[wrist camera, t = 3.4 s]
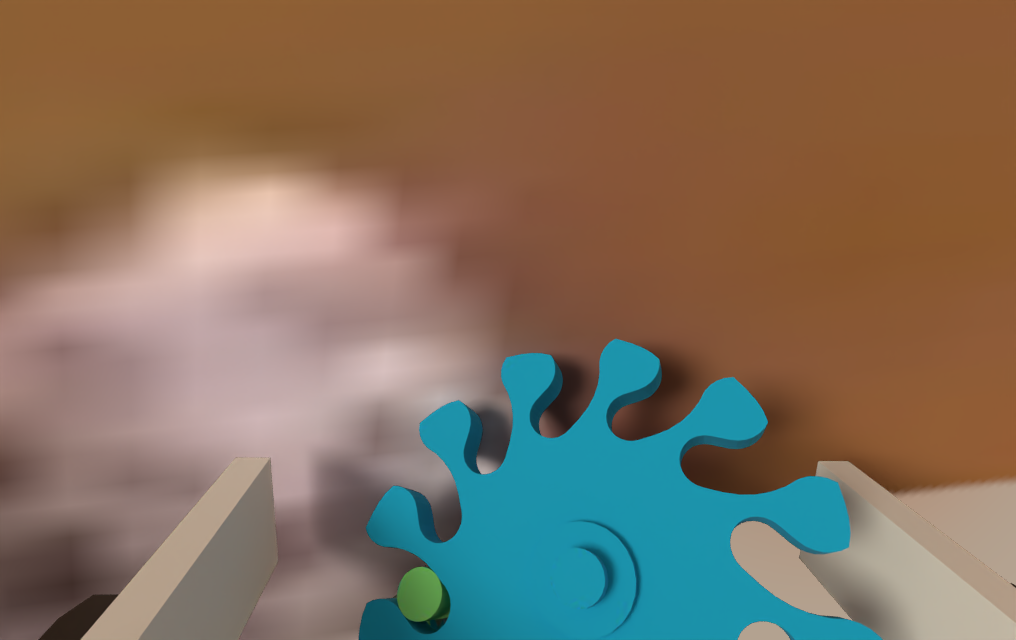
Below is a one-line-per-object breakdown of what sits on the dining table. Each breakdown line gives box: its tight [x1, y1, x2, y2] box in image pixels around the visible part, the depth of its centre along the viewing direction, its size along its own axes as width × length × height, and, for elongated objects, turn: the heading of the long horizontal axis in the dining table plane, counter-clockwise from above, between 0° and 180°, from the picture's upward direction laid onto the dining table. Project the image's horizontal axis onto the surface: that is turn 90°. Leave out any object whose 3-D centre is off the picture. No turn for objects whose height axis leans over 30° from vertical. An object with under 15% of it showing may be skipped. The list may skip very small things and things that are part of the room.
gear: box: [359, 339, 883, 640], centre depth 13 cm, size 11×6×10 cm
